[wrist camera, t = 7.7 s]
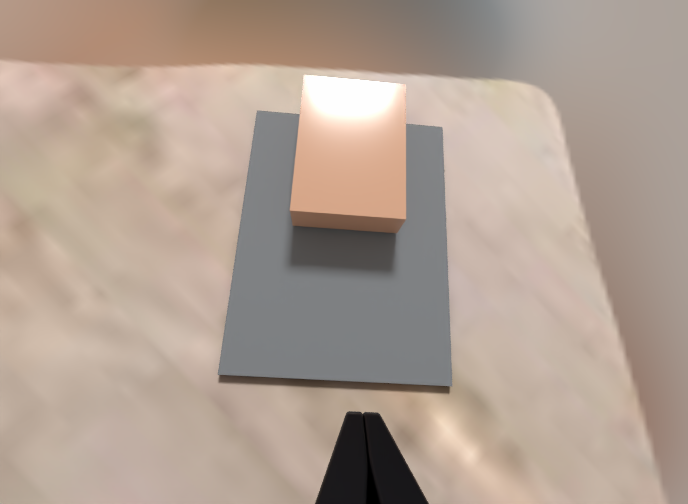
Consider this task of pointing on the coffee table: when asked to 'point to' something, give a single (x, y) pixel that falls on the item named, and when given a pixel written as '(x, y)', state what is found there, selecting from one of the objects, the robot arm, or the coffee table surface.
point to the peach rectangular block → (350, 156)
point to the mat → (339, 277)
